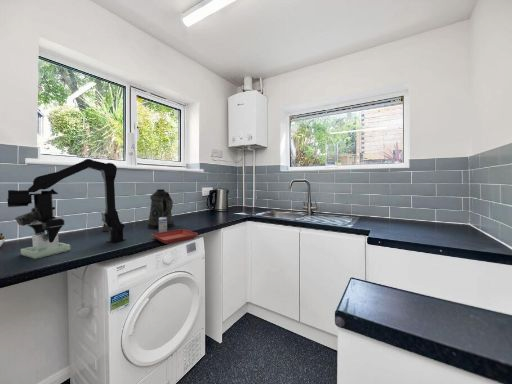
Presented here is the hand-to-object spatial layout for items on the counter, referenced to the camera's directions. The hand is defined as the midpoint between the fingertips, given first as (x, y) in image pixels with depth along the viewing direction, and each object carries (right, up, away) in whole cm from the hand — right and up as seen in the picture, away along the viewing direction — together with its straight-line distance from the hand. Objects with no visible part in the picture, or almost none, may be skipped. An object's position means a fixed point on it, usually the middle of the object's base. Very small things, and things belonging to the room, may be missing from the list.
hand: (45, 241), depth 97 cm
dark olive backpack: (+28, -2, +54) cm, 61 cm away
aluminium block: (0, -4, 0) cm, 4 cm away
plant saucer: (+48, -4, +23) cm, 53 cm away
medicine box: (+35, -3, +37) cm, 51 cm away
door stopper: (0, -3, +45) cm, 46 cm away
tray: (0, -5, 0) cm, 5 cm away
